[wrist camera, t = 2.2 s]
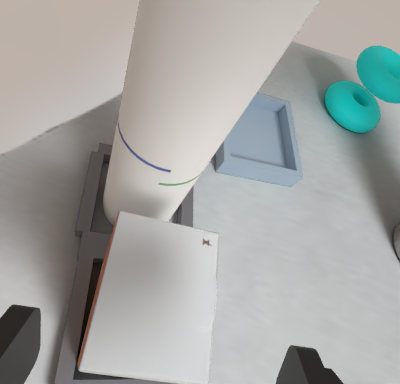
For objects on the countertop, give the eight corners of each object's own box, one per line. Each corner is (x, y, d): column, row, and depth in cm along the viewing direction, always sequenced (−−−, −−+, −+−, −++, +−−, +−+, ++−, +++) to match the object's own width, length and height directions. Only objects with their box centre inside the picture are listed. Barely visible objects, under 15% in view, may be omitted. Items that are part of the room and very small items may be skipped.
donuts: (373, 32, 47) (426, 70, 48) (328, 80, 56) (373, 113, 56) (362, 61, 42) (422, 104, 42) (314, 111, 50) (364, 146, 50)
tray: (279, 113, 46) (289, 101, 44) (291, 187, 40) (303, 177, 38) (213, 95, 43) (221, 81, 41) (215, 172, 37) (224, 160, 35)
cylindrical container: (116, 164, 33) (188, -159, 13) (179, 186, 35) (336, -71, 14) (91, 222, 30) (135, -101, 9) (162, 245, 31) (344, 13, 10)
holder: (189, 169, 36) (193, 162, 35) (184, 394, 26) (189, 396, 24) (93, 150, 33) (93, 141, 32) (41, 398, 22) (39, 400, 21)
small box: (101, 265, 28) (118, 205, 17) (168, 278, 30) (223, 230, 19) (74, 367, 24) (75, 373, 13) (153, 376, 26) (213, 387, 15)
